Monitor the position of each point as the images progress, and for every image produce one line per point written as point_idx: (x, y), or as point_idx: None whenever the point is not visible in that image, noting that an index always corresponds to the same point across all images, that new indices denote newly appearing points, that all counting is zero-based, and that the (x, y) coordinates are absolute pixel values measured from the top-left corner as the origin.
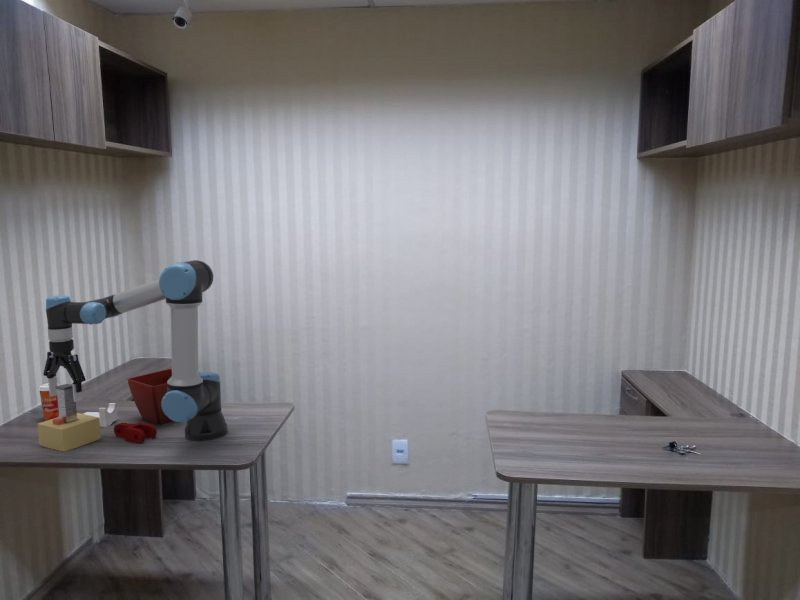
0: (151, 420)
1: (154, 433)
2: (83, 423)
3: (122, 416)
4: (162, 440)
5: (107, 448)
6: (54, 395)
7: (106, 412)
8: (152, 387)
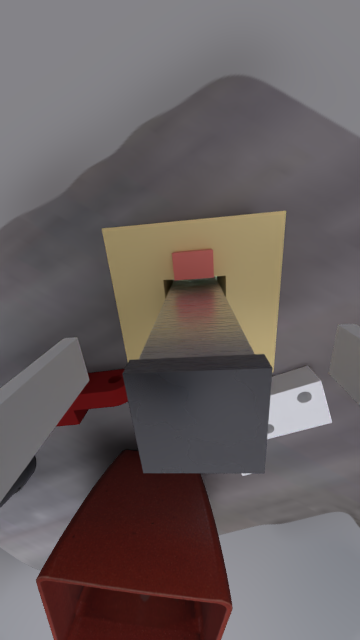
0: None
1: None
2: (121, 320)
3: None
4: None
5: (62, 311)
6: (335, 349)
7: None
8: (42, 572)
